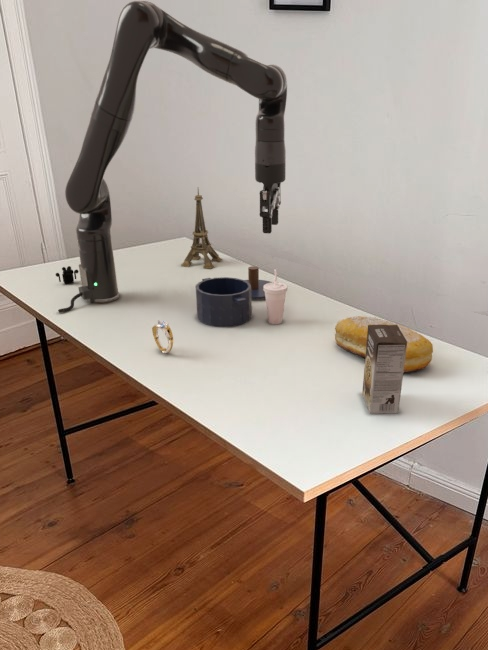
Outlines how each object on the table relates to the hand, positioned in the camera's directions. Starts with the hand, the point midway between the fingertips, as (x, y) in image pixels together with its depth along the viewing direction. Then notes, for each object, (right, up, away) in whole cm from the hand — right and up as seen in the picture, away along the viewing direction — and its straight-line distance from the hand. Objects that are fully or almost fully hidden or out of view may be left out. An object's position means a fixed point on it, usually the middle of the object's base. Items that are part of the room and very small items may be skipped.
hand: (270, 228), depth 176 cm
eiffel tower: (-23, +7, +49) cm, 55 cm away
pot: (-13, -20, +10) cm, 26 cm away
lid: (-5, -9, +26) cm, 28 cm away
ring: (-26, -34, -10) cm, 44 cm away
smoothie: (+1, -22, +8) cm, 24 cm away
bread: (+27, -35, -10) cm, 45 cm away
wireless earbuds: (-61, -6, +31) cm, 69 cm away
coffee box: (+24, -49, -30) cm, 62 cm away
